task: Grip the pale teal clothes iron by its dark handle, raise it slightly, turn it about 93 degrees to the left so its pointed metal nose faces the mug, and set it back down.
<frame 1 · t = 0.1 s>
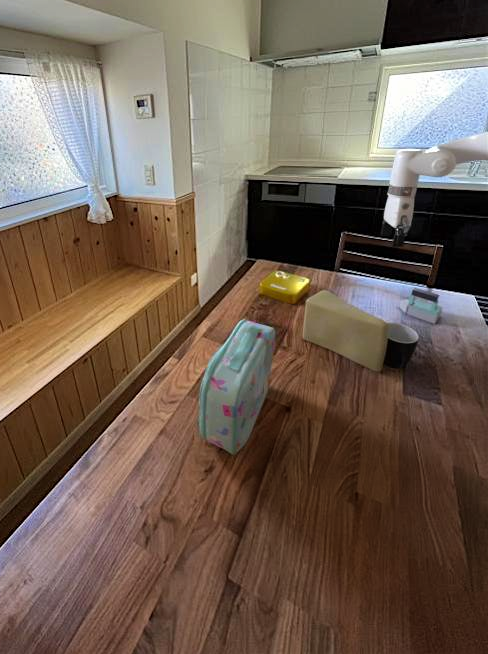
hand: (391, 240, 113), 23 cm above the table, tool pointing down, fingers open, 9 cm apart
cheese: (342, 351, 99), on the table
lunch box: (239, 410, 82), on the table
mug: (393, 366, 93), on the table
element tile: (283, 291, 131), on the table
iron: (403, 308, 117), on the table
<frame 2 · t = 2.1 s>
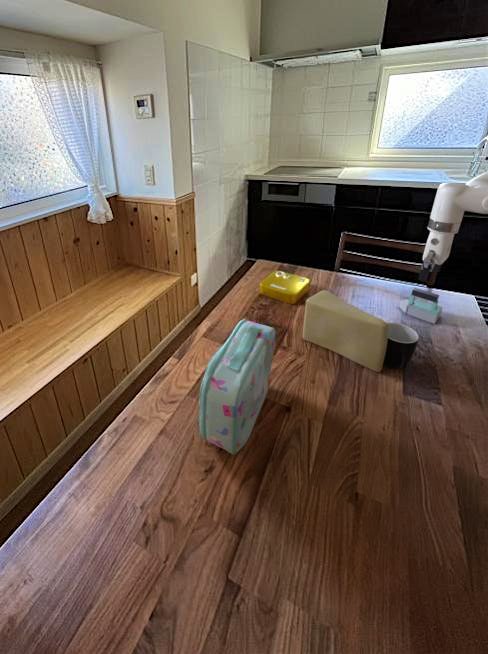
hand: (429, 275, 107), 15 cm above the table, tool pointing down, fingers open, 9 cm apart
nothing on the table moved.
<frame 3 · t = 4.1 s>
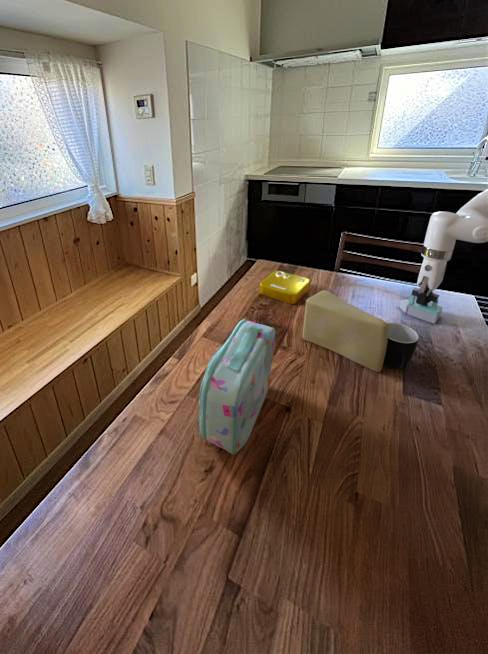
hand: (422, 302, 111), 5 cm above the table, tool pointing down, fingers closed on iron, 2 cm apart
iron: (403, 308, 117), on the table, touching gripper
everything else where it was.
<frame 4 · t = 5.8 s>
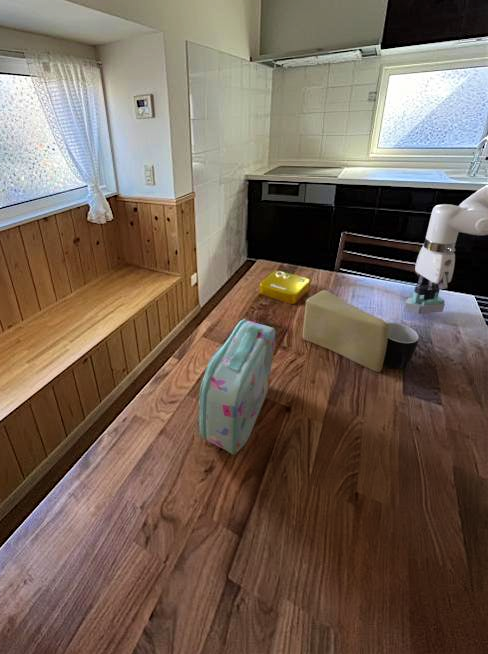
hand: (425, 296, 110), 7 cm above the table, tool pointing down, fingers closed on iron, 2 cm apart
iron: (407, 310, 112), point 2 cm above the table, touching gripper
everything else where it was.
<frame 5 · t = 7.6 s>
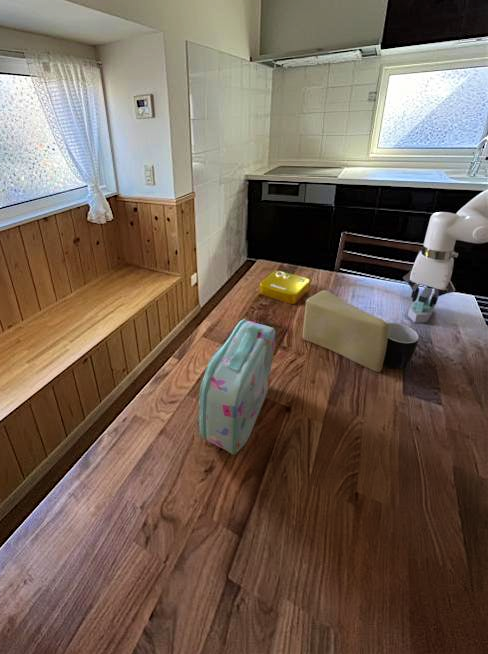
hand: (422, 302, 111), 5 cm above the table, tool pointing down, fingers open, 4 cm apart
iron: (415, 320, 110), on the table
everything else where it was.
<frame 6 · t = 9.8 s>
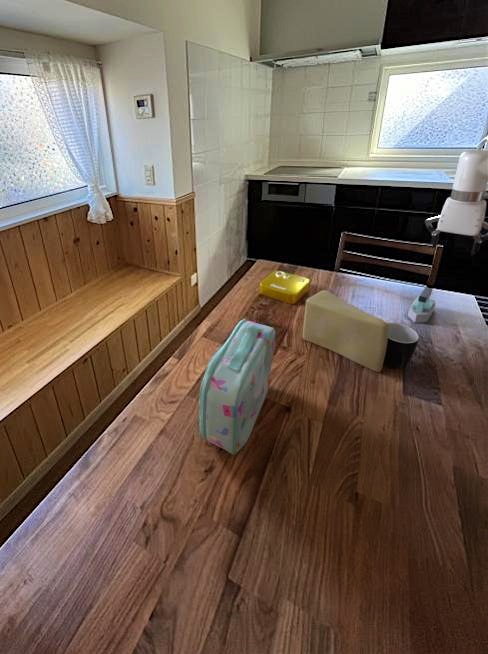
hand: (452, 250, 103), 23 cm above the table, tool pointing down, fingers open, 9 cm apart
nothing on the table moved.
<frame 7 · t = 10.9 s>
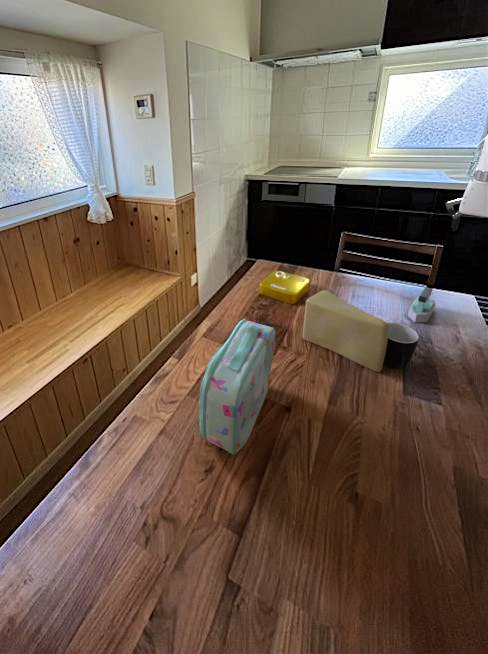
hand: (473, 233, 102), 28 cm above the table, tool pointing down, fingers open, 9 cm apart
nothing on the table moved.
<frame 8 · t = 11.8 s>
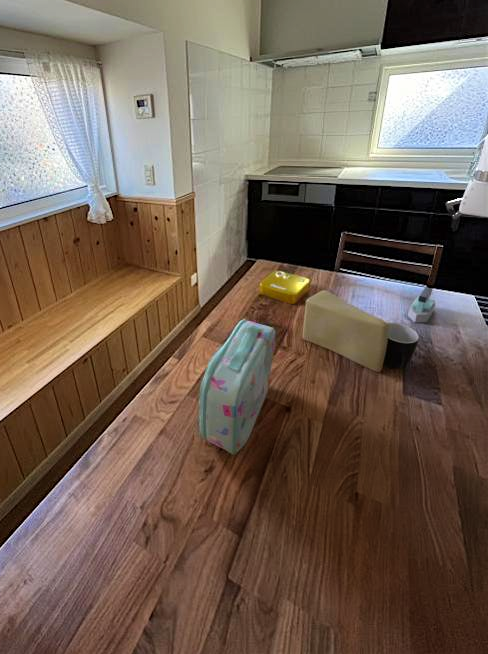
hand: (473, 233, 102), 28 cm above the table, tool pointing down, fingers open, 9 cm apart
nothing on the table moved.
at the end: iron 0.1 cm from the target spot on the table beside the mug, on the table; iron tilted 0°; the gripper is holding nothing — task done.
